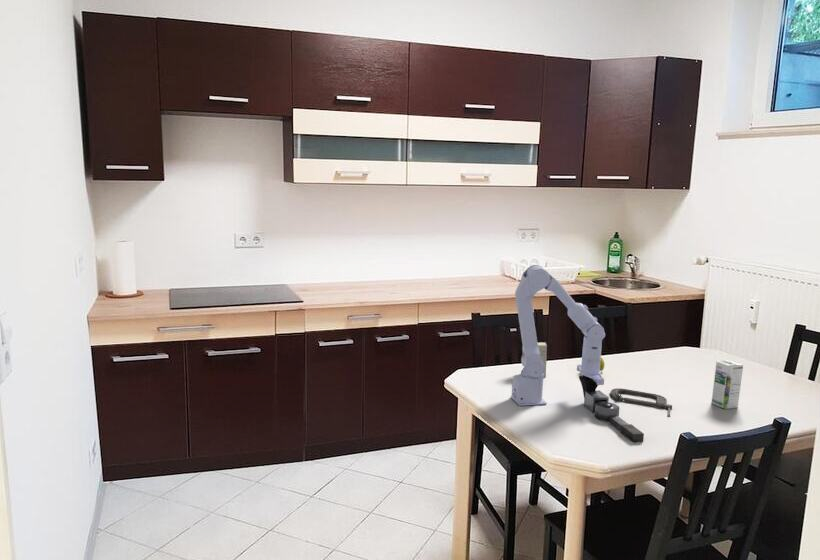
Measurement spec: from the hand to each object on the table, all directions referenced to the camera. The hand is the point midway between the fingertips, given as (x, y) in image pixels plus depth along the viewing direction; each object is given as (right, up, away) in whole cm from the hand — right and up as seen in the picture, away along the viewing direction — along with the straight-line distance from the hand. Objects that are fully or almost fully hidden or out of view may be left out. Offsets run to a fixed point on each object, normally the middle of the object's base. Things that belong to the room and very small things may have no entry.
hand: (588, 398), depth 191 cm
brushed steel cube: (+1, -2, -5) cm, 5 cm away
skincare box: (-11, +3, +26) cm, 29 cm away
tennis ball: (+11, +3, +31) cm, 33 cm away
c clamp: (+18, -2, +3) cm, 18 cm away
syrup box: (+45, -3, +1) cm, 45 cm away
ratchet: (+3, -4, -16) cm, 16 cm away
